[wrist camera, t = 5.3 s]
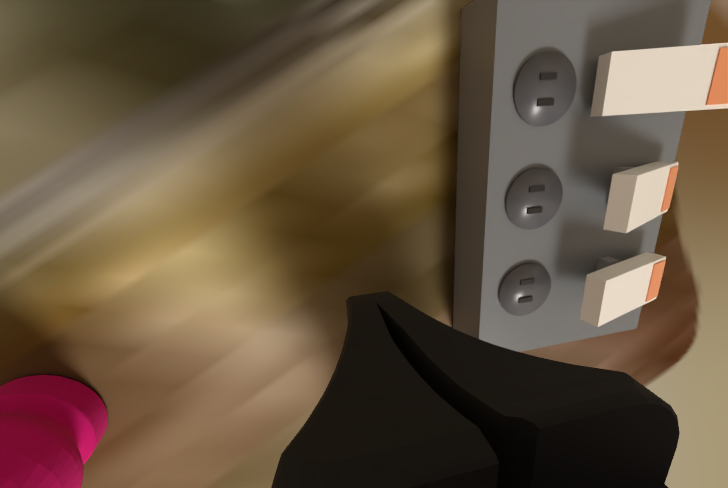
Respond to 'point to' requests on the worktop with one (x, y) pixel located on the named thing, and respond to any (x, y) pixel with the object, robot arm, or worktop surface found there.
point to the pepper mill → (48, 431)
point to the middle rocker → (639, 195)
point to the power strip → (550, 160)
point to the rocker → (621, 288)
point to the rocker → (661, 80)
